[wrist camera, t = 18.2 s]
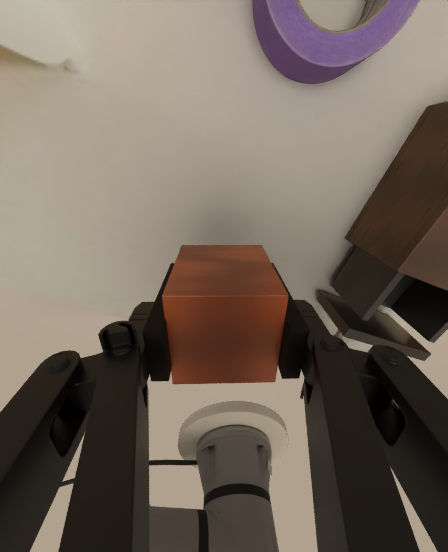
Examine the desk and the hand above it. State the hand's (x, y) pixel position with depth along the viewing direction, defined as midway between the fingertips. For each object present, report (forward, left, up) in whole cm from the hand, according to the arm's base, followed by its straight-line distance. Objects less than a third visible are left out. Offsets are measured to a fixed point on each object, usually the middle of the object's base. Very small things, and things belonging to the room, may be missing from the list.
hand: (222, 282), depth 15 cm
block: (0, 0, 0) cm, 0 cm away
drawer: (+20, -8, -14) cm, 26 cm away
